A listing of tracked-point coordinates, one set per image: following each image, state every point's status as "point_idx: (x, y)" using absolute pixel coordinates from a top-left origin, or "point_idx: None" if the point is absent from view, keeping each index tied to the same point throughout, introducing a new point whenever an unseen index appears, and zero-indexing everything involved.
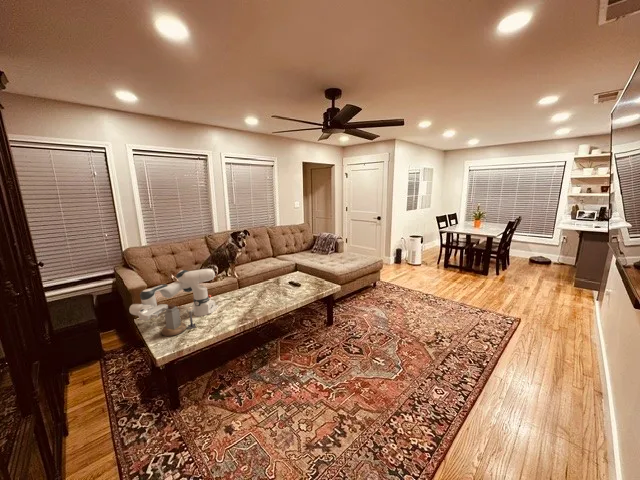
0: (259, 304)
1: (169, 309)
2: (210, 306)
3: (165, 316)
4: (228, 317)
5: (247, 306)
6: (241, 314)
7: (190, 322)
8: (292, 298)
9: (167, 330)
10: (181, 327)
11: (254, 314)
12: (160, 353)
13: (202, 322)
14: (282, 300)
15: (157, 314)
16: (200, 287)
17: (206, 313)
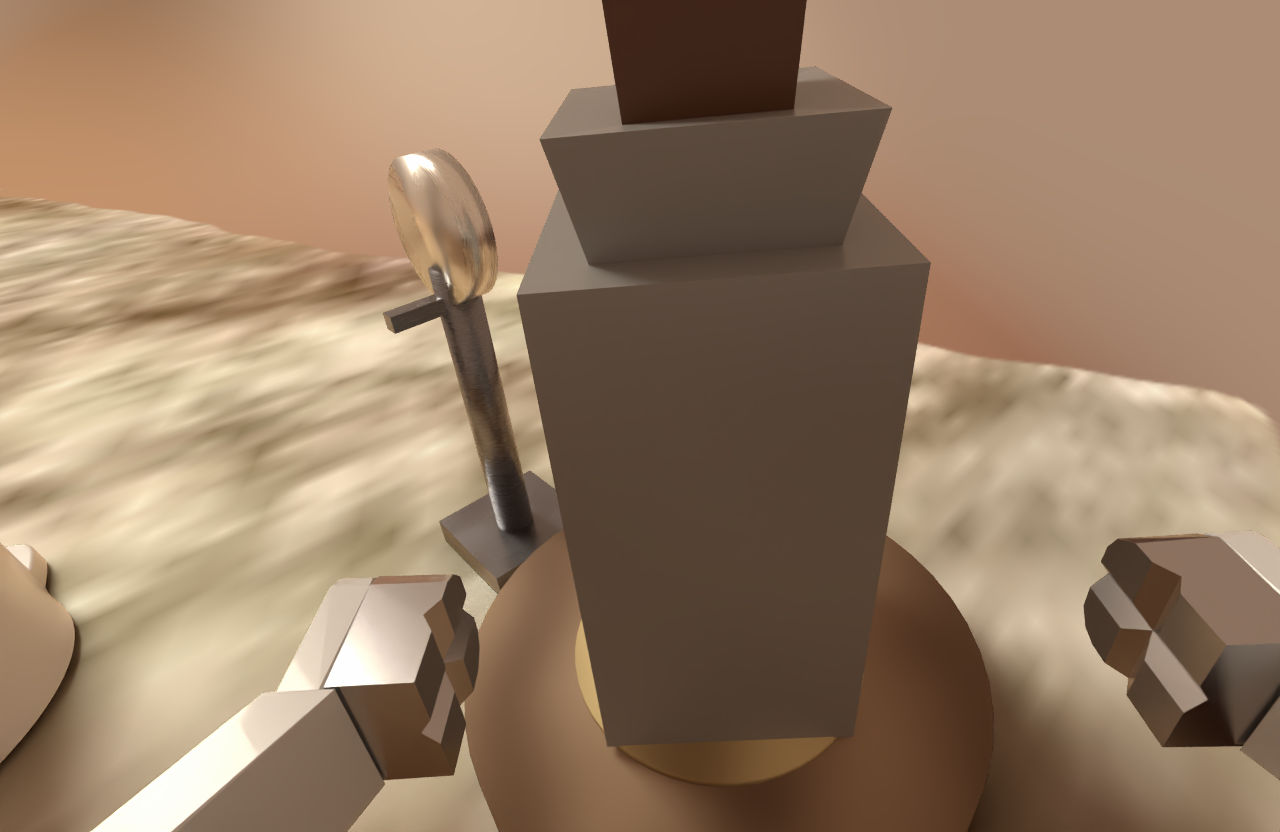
0: (32, 317)
1: (838, 81)
2: None
3: (896, 429)
4: (277, 368)
5: (24, 358)
6: (234, 327)
7: (518, 469)
8: (38, 240)
9: (884, 673)
10: None
11: (268, 278)
12: (1223, 441)
13: (369, 505)
14: (41, 259)
15: (1222, 551)
16: None
17: (37, 585)
